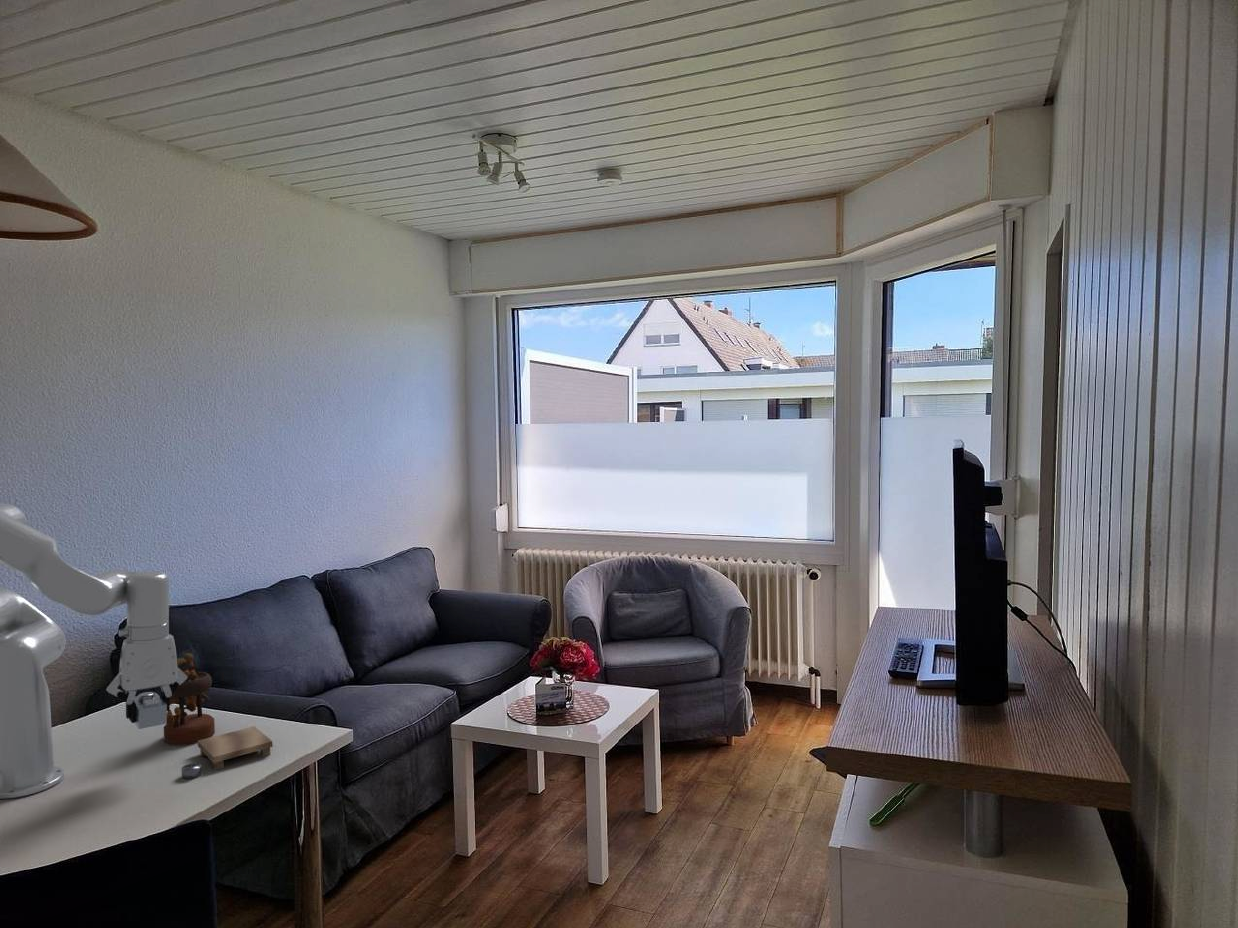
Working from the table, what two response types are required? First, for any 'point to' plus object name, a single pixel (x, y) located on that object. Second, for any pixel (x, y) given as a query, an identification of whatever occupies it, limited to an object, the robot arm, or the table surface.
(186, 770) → the dark grey round piece
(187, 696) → the music box
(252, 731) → the stand
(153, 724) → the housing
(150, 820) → the table surface
